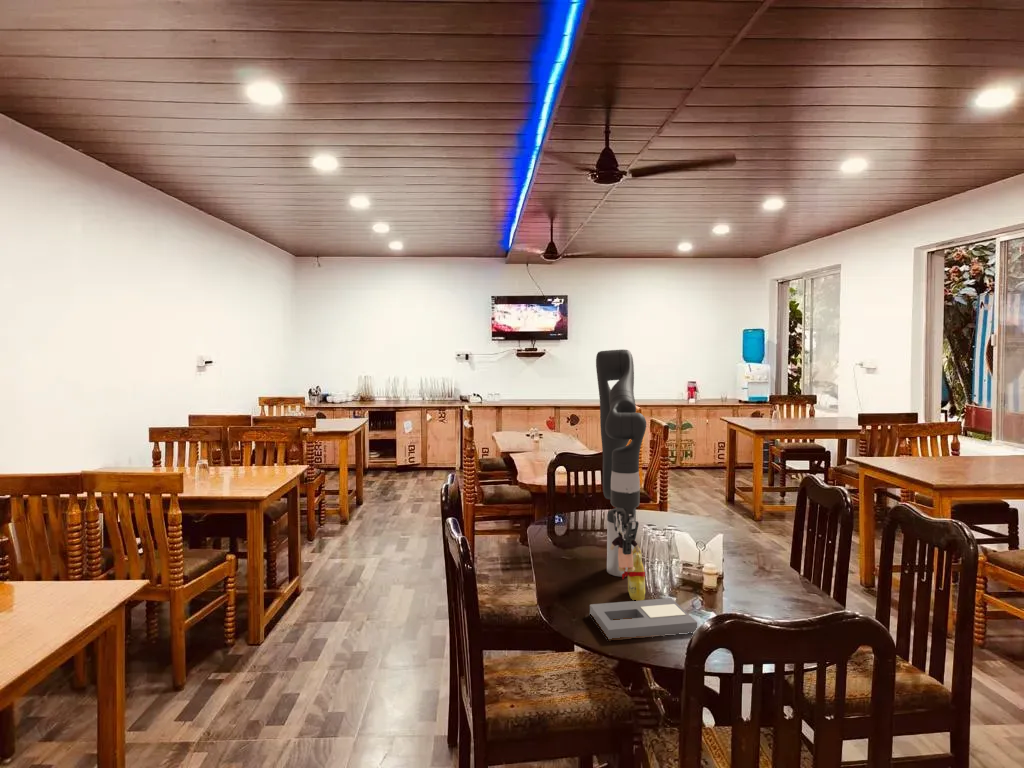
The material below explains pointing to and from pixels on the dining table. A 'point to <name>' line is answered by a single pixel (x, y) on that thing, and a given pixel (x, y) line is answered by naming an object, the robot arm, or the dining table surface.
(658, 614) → the pocket holder
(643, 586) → the chocolate bunny
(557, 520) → the dining table surface
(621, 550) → the grandmother figurine
